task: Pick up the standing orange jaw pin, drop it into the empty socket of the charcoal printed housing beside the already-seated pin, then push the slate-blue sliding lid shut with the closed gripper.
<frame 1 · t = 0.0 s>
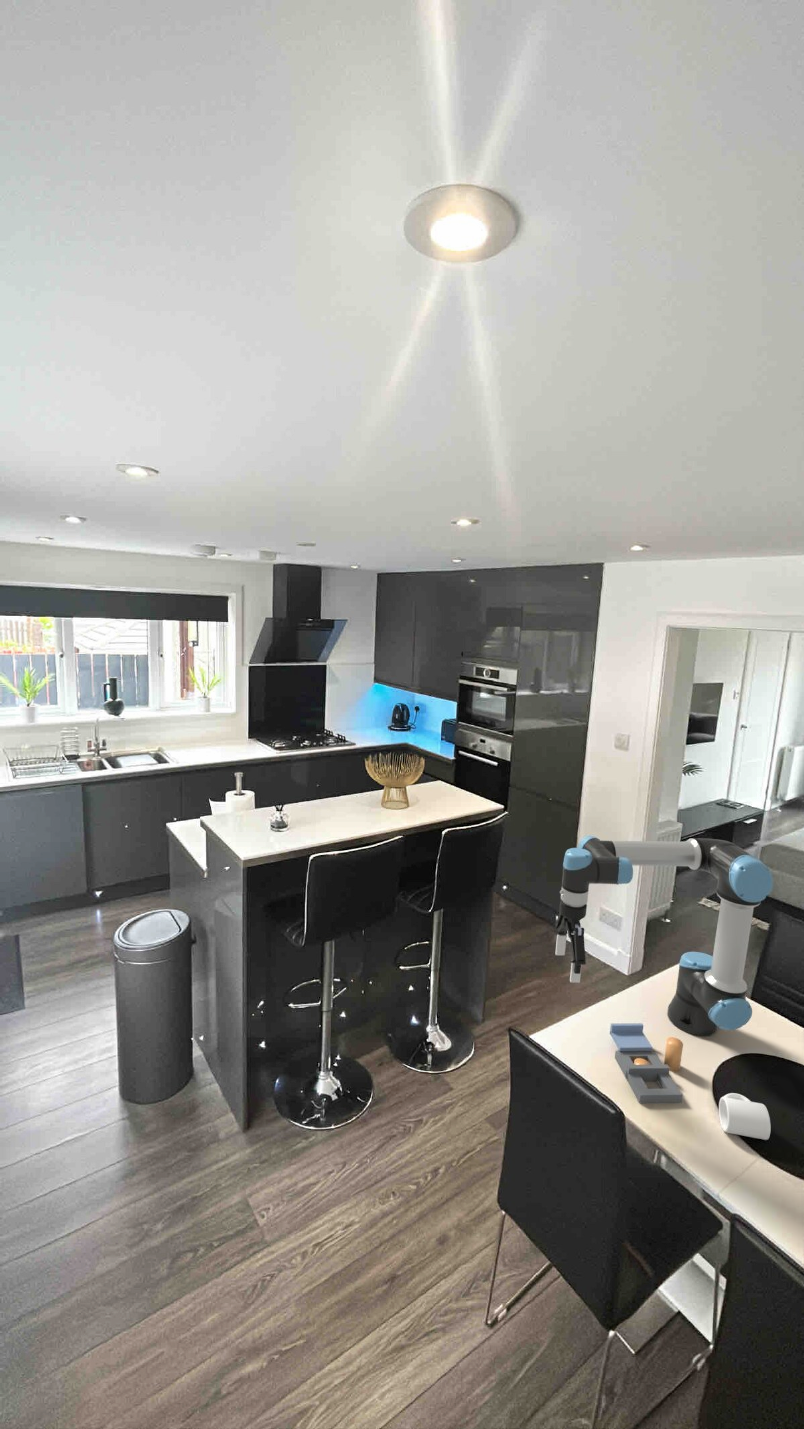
hand: (567, 967, 184), 28 cm above the table, fingers open, 13 cm apart
housing: (646, 1079, 179), on the table
lid: (631, 1036, 190), point 5 cm above the table, slide at 0.0 cm
mug: (739, 1125, 165), on the table
jaw pin: (671, 1066, 185), on the table
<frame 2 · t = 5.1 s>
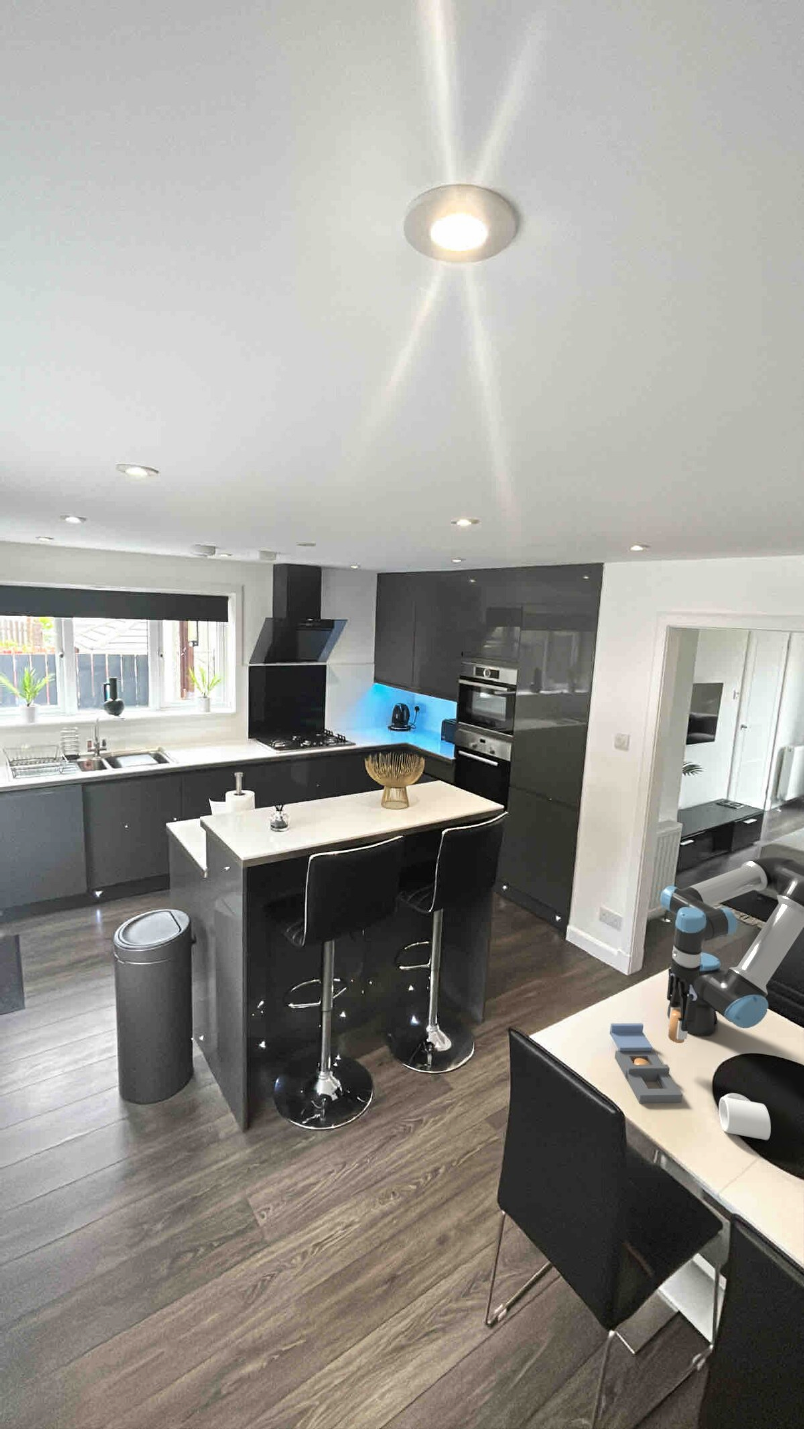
hand: (677, 1032, 183), 11 cm above the table, fingers closed on jaw pin, 4 cm apart
jaw pin: (676, 1037, 183), point 9 cm above the table, touching gripper
everything else where it was.
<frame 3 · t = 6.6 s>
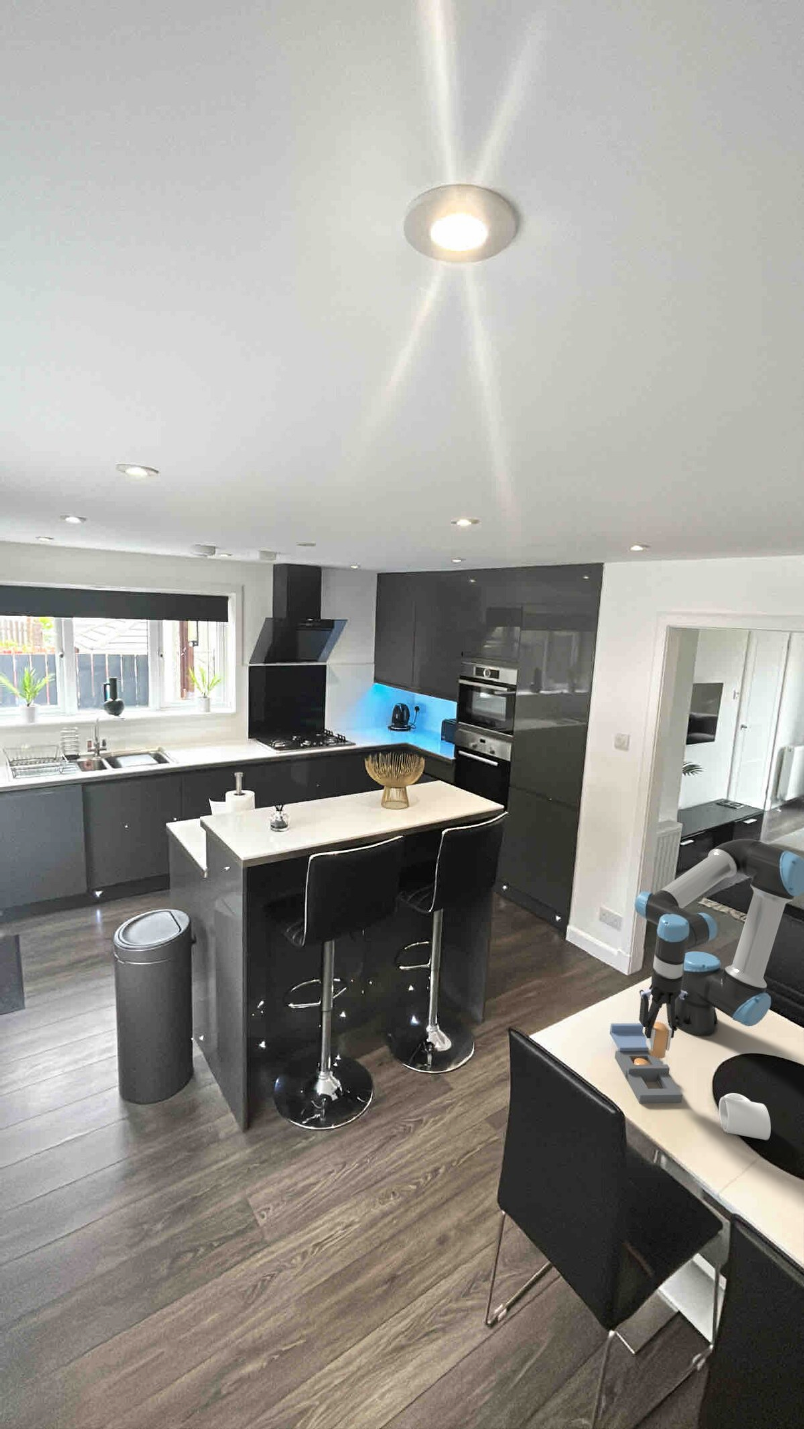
hand: (657, 1047, 173), 13 cm above the table, fingers closed on jaw pin, 4 cm apart
jaw pin: (656, 1052, 173), point 12 cm above the table, touching gripper
everything else where it was.
when the fingers open (3 cm above the table, at t = 8.6 s): jaw pin drops 2 cm, resting in housing.
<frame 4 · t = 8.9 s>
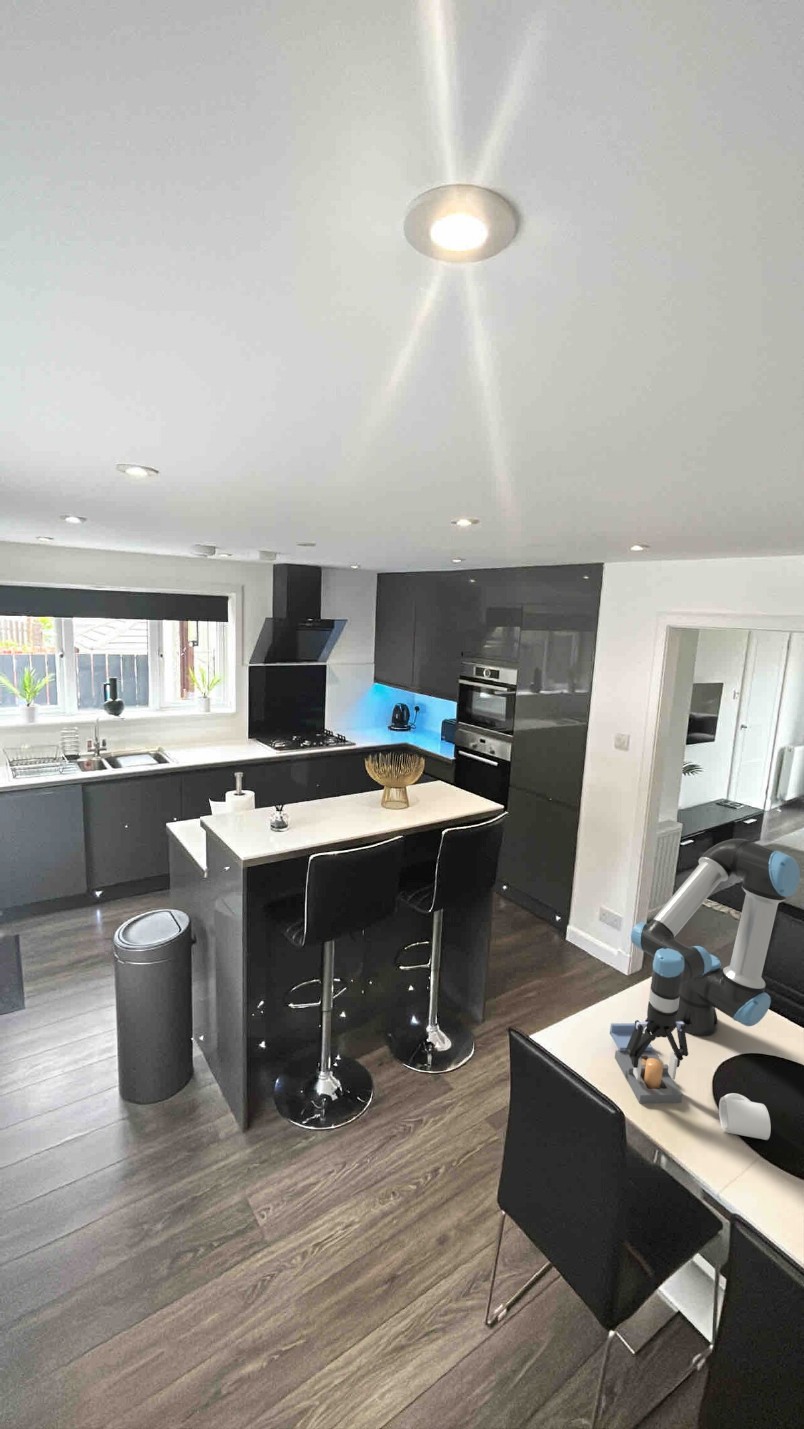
hand: (653, 1076, 175), 4 cm above the table, fingers open, 9 cm apart
jaw pin: (651, 1088, 176), resting in housing
everything else where it was.
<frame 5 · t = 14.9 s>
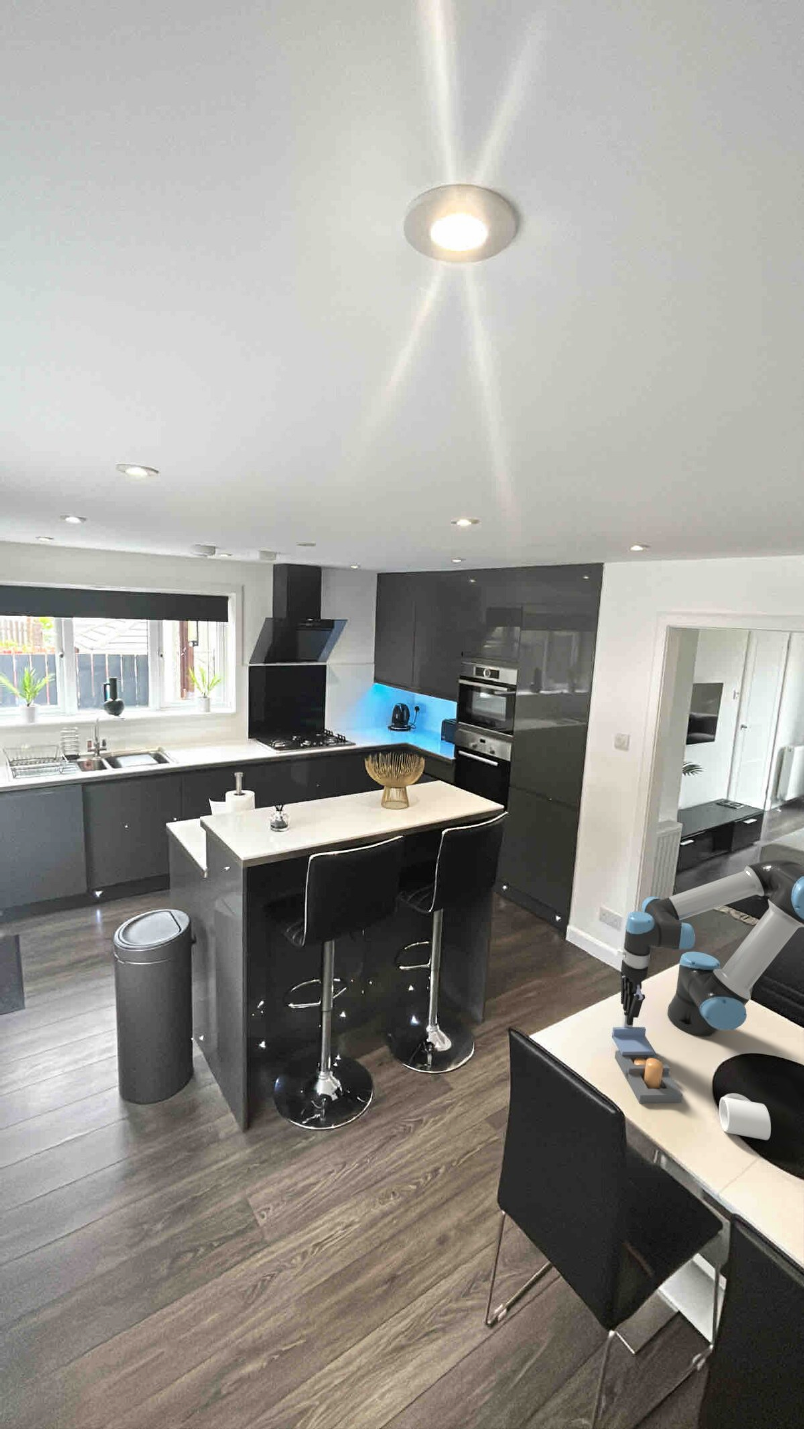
hand: (626, 1031, 193), 4 cm above the table, fingers closed
lid: (633, 1040, 188), point 5 cm above the table, slide at 1.7 cm, touching gripper
everything else where it was.
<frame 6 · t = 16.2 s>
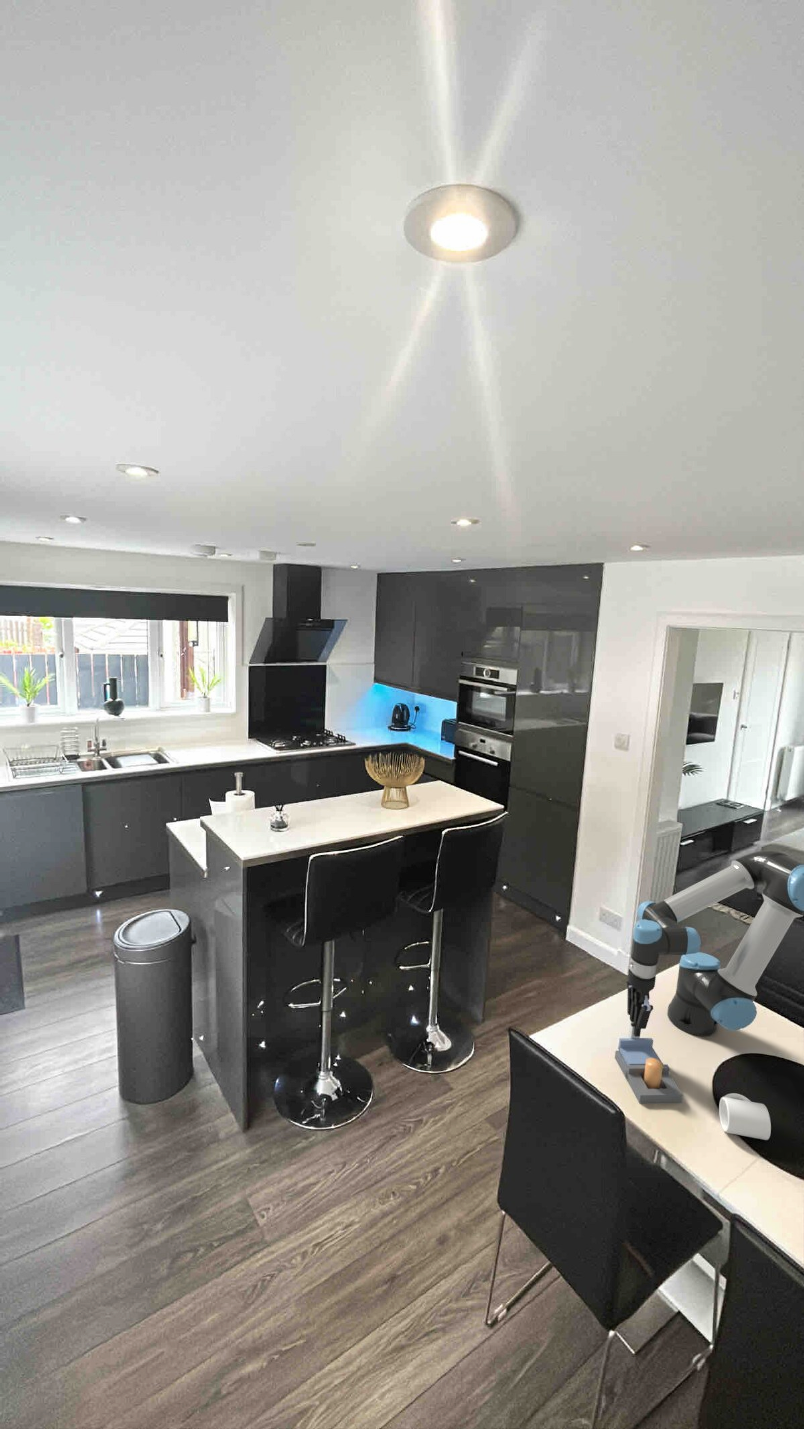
hand: (633, 1042, 188), 4 cm above the table, fingers closed
lid: (640, 1052, 183), point 5 cm above the table, slide at 6.6 cm, touching gripper
everything else where it was.
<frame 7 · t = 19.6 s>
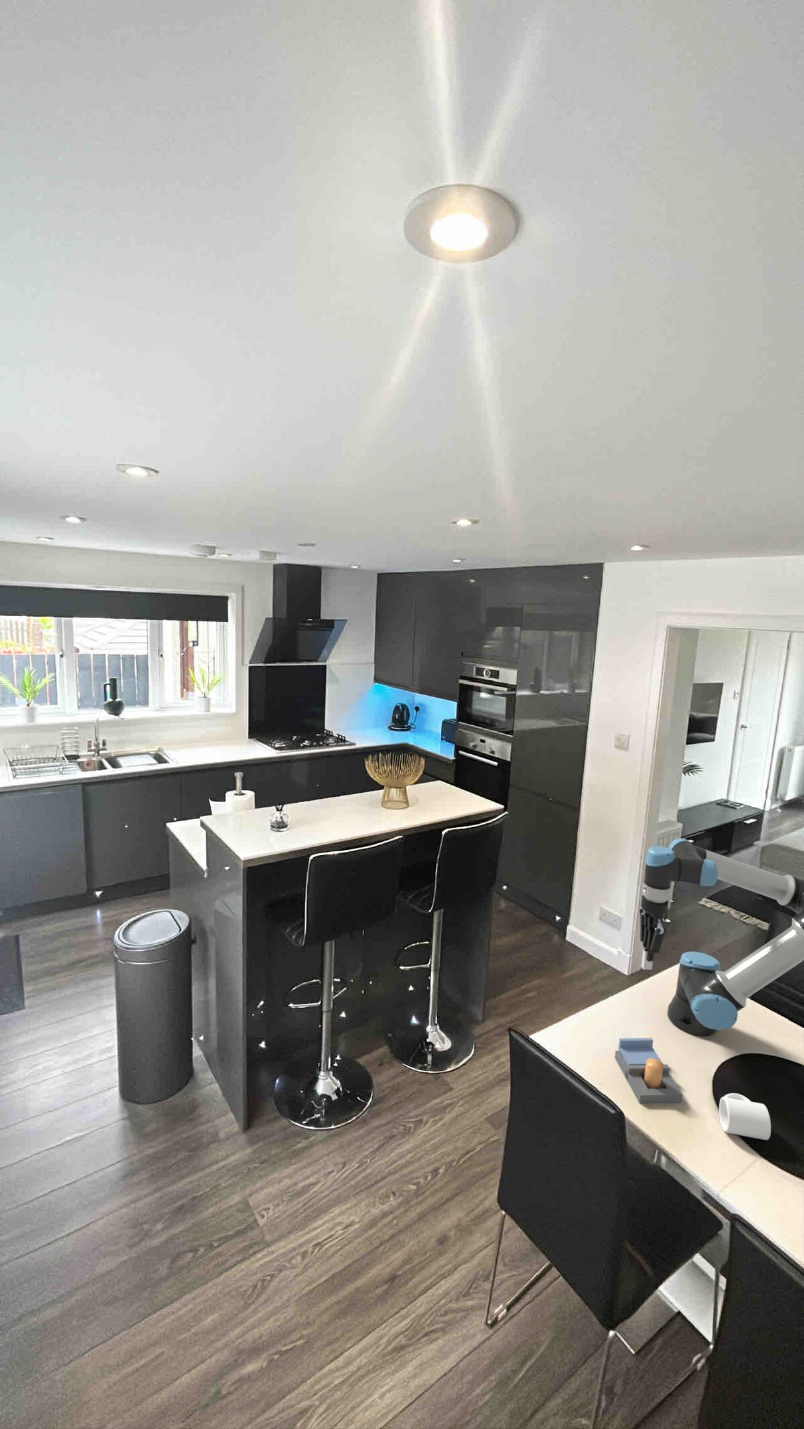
hand: (646, 968, 191), 24 cm above the table, fingers closed
lid: (640, 1052, 183), point 5 cm above the table, slide at 6.6 cm
everything else where it was.
at the end: jaw pin 0.2 cm from the target spot on the housing, point 0.0 cm above the housing's base; lid slide at 6.6 cm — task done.
